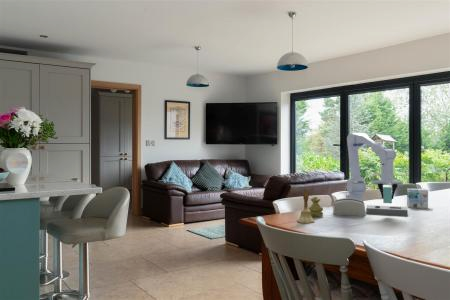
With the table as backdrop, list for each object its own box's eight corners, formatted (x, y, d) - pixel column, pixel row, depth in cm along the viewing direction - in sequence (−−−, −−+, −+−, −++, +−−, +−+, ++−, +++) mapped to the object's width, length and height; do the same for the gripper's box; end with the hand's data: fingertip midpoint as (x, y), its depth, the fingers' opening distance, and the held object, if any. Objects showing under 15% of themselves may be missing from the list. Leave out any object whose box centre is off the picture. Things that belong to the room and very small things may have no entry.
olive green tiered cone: (323, 217, 193) (323, 198, 193) (308, 217, 194) (308, 197, 194) (322, 215, 200) (322, 196, 200) (308, 215, 202) (308, 196, 202)
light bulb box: (408, 207, 223) (408, 189, 223) (406, 206, 230) (406, 188, 230) (428, 208, 220) (428, 189, 220) (426, 206, 227) (426, 188, 227)
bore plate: (366, 213, 203) (366, 208, 203) (367, 210, 214) (367, 205, 214) (407, 215, 196) (407, 210, 196) (406, 212, 207) (406, 206, 207)
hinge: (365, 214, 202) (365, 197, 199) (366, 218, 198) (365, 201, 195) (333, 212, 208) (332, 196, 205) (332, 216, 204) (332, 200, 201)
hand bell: (302, 219, 189) (301, 187, 189) (317, 221, 184) (317, 188, 184) (294, 221, 183) (293, 188, 183) (309, 224, 177) (309, 189, 177)
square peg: (383, 203, 195) (383, 187, 195) (383, 201, 199) (383, 186, 199) (391, 203, 193) (391, 187, 193) (391, 202, 197) (391, 187, 197)
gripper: (372, 172, 195) (372, 199, 195) (403, 173, 189) (403, 200, 190) (372, 171, 202) (372, 197, 202) (402, 172, 196) (402, 198, 196)
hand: (387, 198), depth 196 cm, fingers closed on square peg, 4 cm apart
